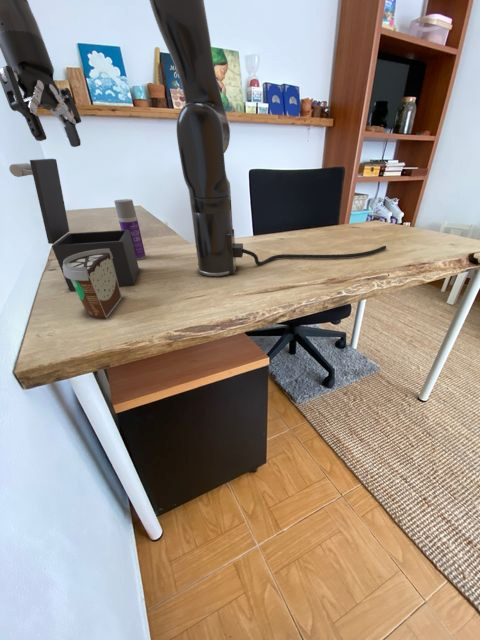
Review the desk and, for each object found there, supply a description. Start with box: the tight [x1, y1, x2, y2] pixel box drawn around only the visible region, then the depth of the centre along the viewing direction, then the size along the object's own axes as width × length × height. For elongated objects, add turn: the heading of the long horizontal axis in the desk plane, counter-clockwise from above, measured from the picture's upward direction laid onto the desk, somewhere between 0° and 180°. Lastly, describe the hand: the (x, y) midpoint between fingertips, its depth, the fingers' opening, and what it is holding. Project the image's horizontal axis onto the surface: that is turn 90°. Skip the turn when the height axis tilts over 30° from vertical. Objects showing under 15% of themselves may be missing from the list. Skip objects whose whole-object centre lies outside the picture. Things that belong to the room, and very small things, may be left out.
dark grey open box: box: [51, 229, 140, 292], centre depth 68 cm, size 14×12×10 cm
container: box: [113, 198, 147, 261], centre depth 81 cm, size 5×5×15 cm
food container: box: [62, 249, 123, 320], centre depth 55 cm, size 12×6×10 cm, turn 5°
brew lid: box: [8, 158, 70, 245], centre depth 60 cm, size 14×12×5 cm
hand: (60, 143), depth 61 cm, fingers open, 8 cm apart
